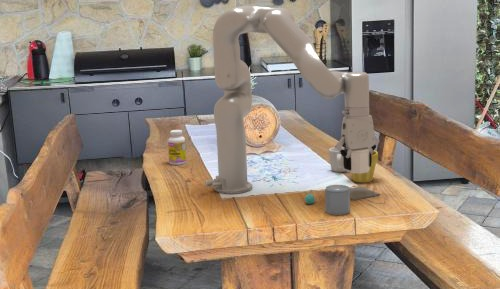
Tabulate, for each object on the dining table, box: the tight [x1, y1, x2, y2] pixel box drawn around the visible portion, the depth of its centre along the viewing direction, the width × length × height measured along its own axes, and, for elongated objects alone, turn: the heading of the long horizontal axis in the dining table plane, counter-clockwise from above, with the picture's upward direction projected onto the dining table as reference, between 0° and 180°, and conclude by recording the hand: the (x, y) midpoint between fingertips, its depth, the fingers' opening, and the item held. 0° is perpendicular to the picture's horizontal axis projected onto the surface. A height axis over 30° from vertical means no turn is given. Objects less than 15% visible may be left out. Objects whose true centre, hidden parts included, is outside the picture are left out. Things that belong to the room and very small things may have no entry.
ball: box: [304, 193, 316, 205], centre depth 222 cm, size 3×3×3 cm
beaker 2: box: [345, 148, 369, 174], centre depth 228 cm, size 7×7×7 cm
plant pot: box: [350, 149, 379, 184], centre depth 246 cm, size 10×10×10 cm
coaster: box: [349, 186, 380, 201], centre depth 231 cm, size 10×10×1 cm
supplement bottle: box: [167, 129, 187, 166], centre depth 279 cm, size 7×7×13 cm
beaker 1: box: [324, 184, 351, 216], centre depth 213 cm, size 7×7×7 cm
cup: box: [328, 146, 347, 173], centre depth 258 cm, size 11×8×8 cm
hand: (357, 167), depth 229 cm, fingers closed on beaker 2, 6 cm apart
